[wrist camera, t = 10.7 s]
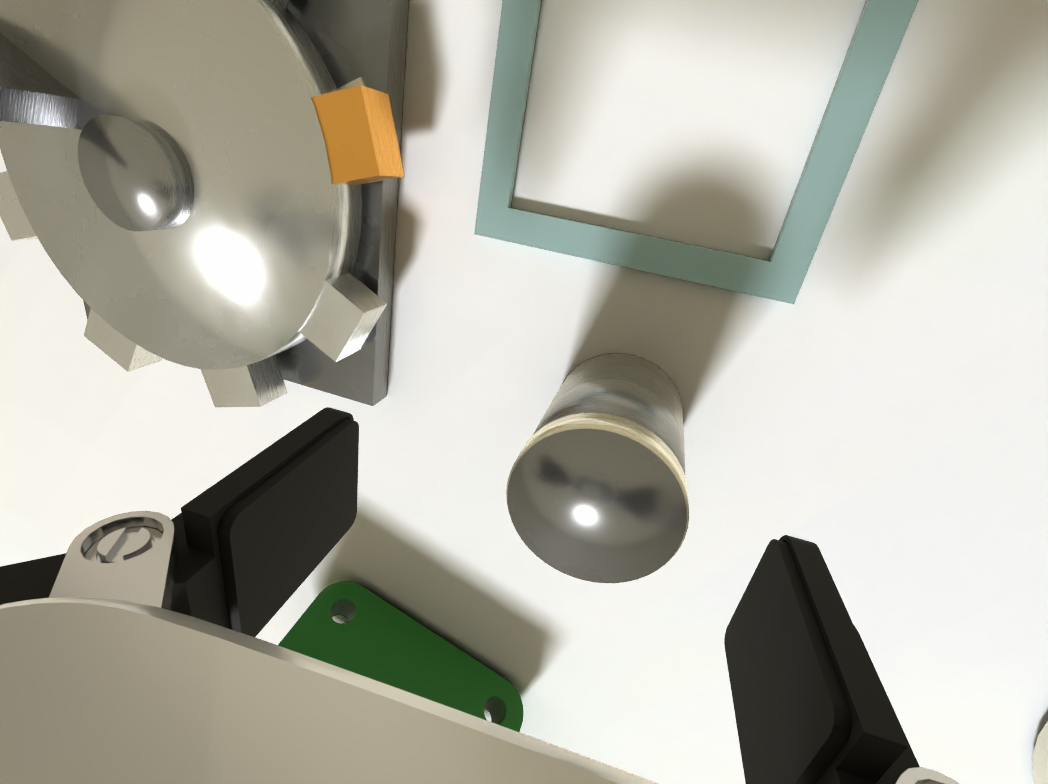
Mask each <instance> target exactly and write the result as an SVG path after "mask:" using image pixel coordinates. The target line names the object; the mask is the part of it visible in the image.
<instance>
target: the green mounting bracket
mask: <svg viewBox="0 0 1048 784" xmlns="http://www.w3.org/2000/svg"><path fill="white" fill-rule="evenodd" d="M335 615H343V616H345V617H346V618H347V619H348V620H349V622H347V623H344V624H339V623H336V622H335V621H334V620H333V619H332V617H333V616H335ZM278 646H281V647H283V648H286V649H289V650H292V651H295V652H297V653H300V654H303V655H306V656H309V657H312V658H314V659H317V660H320V661H323V662H326V663H328V664H331V665H334V666H337V667H340V668H342V669H345V670H348V671H351V672H354V673H356V674H359V675H362V676H365V677H368V678H370V679H373V680H376V681H379V682H382V683H384V684H387V685H390V686H393V687H395V688H398V689H401V690H404V691H407V692H409V693H412V694H415V695H418V696H420V697H423V698H426V699H429V700H431V701H434V702H437V703H440V704H442V705H445V706H448V707H451V708H453V709H456V710H459V711H462V712H465V713H467V714H470V715H473V716H475V717H478V718H481V719H484V720H486V718H485V716H484V708H486V709H487V710H488V711H489V712H490V714H491V718H492V723H495V724H497V725H500V726H503V727H506V728H508V729H511V730H514V731H517V732H519V731H520V728H521V725H522V721H523V705H522V701H521V698H520V695H519V693H518V691H517V690H516V688H515V687H514V686H513V685H512V684H511V683H510V682H509V681H507V680H506V679H504V678H503V677H501V676H500V675H498V674H497V673H495V672H494V671H492V670H490V669H489V668H487V667H486V666H484V665H483V664H481V663H480V662H478V661H477V660H475V659H473V658H472V657H470V656H469V655H467V654H466V653H464V652H463V651H461V650H460V649H458V648H457V647H455V646H453V645H452V644H450V643H449V642H447V641H446V640H444V639H443V638H441V637H440V636H438V635H436V634H435V633H433V632H432V631H430V630H429V629H427V628H426V627H424V626H423V625H421V624H420V623H418V622H416V621H415V620H413V619H412V618H410V617H409V616H407V615H406V614H404V613H403V612H401V611H399V610H398V609H396V608H395V607H393V606H392V605H390V604H389V603H387V602H386V601H384V600H383V599H381V598H379V597H378V596H376V595H375V594H373V593H372V592H370V591H369V590H367V589H366V588H364V587H362V586H361V585H359V584H357V583H354V582H338V583H335V584H332V585H330V586H328V587H327V588H325V589H324V590H323V591H322V592H321V593H320V594H319V595H318V596H317V597H316V599H315V600H314V601H313V602H312V604H311V605H310V606H309V607H308V609H307V610H306V611H305V612H304V614H303V615H302V616H301V617H300V619H299V620H298V621H297V622H296V623H295V625H294V626H293V627H292V628H291V630H290V631H289V632H288V633H287V635H286V636H285V637H284V638H283V640H282V641H281V642H280V643H279V645H278ZM486 721H487V720H486Z"/></svg>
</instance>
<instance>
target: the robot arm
mask: <svg viewBox="0 0 1048 784" xmlns="http://www.w3.org/2000/svg"><path fill="white" fill-rule="evenodd" d="M358 442H359V425H358V423H357V422H356V421H354V420H353V416H352V415H351V414H350V413H347V412H343V411H340V410H336V409H333V408H324V409H323V410H321V411H320V412H318V413H317V414H315V415H314V416H312V417H311V418H310V419H308V420H307V421H305V422H304V423H302V424H301V425H299V426H298V427H297V428H295V429H294V430H292V431H291V432H289V433H288V434H286V435H285V436H284V437H282V438H281V439H279V440H278V441H276V442H275V443H274V444H272V445H271V446H269V447H268V448H266V449H265V450H263V451H262V452H261V453H259V454H258V455H256V456H255V457H253V458H252V459H250V460H249V461H248V462H246V463H245V464H243V465H242V466H240V467H239V468H238V469H236V470H235V471H233V472H232V473H230V474H229V475H227V476H226V477H225V478H223V479H222V480H220V481H219V482H217V483H216V484H214V485H213V486H212V487H210V488H209V489H207V490H206V491H204V492H203V493H202V494H200V495H199V496H197V497H196V498H194V499H193V500H191V501H190V502H189V503H187V504H186V505H184V506H183V507H181V511H182V513H180V514H179V515H178V516H176V517H175V518H173V519H172V520H170V519H169V517H168V516H165V515H163V514H161V513H158V512H150V511H136V512H128V513H123V514H118V515H114V516H112V517H109V518H106V519H104V520H101V521H99V522H97V523H95V524H93V525H92V526H90V527H88V528H86V529H85V530H84V531H83V532H81V533H80V534H79V535H78V536H77V537H75V539H74V540H73V542H72V543H71V545H70V546H69V548H68V551H67V553H66V554H61V555H56V556H51V557H46V558H41V559H36V560H31V561H26V562H21V563H16V564H12V565H7V566H2V567H0V784H658V783H655V782H652V781H650V780H647V779H644V778H642V777H639V776H636V775H633V774H631V773H628V772H625V771H623V770H620V769H617V768H614V767H612V766H609V765H606V764H604V763H601V762H598V761H596V760H593V759H590V758H587V757H585V756H582V755H579V754H577V753H574V752H571V751H568V750H566V749H563V748H560V747H558V746H555V745H552V744H550V743H547V742H544V741H541V740H539V739H536V738H533V737H530V736H528V735H525V734H522V733H519V732H517V731H514V730H511V729H508V728H506V727H503V726H500V725H497V724H495V723H492V722H489V721H486V720H484V719H481V718H478V717H475V716H473V715H470V714H467V713H465V712H462V711H459V710H456V709H453V708H451V707H448V706H445V705H442V704H440V703H437V702H434V701H431V700H429V699H426V698H423V697H420V696H418V695H415V694H412V693H409V692H407V691H404V690H401V689H398V688H395V687H393V686H390V685H387V684H384V683H382V682H379V681H376V680H373V679H370V678H368V677H365V676H362V675H359V674H356V673H354V672H351V671H348V670H345V669H342V668H340V667H337V666H334V665H331V664H328V663H326V662H323V661H320V660H317V659H314V658H312V657H309V656H306V655H303V654H300V653H297V652H295V651H292V650H289V649H286V648H283V647H281V646H278V645H275V644H272V643H269V642H267V641H264V640H261V639H258V638H255V637H256V635H257V634H258V633H259V632H260V631H261V630H262V629H263V627H264V626H265V625H266V624H267V623H268V622H269V621H270V619H271V618H272V617H273V616H274V615H275V614H276V613H277V611H278V610H279V609H280V608H281V607H282V606H283V604H284V603H285V602H286V601H287V600H288V599H289V598H290V596H291V595H292V594H293V593H294V592H295V591H296V590H297V588H298V587H299V586H300V585H301V584H302V583H303V582H304V580H305V579H306V578H307V577H308V576H309V575H310V573H311V572H312V571H313V570H314V569H315V568H316V567H317V565H318V564H319V563H320V562H321V561H322V560H323V559H324V557H325V556H326V555H327V554H328V553H329V552H330V551H331V549H332V548H333V547H334V546H335V545H336V544H337V542H338V541H339V540H340V539H341V538H342V537H343V536H344V534H345V533H346V532H347V531H348V530H349V529H350V527H351V526H352V524H353V523H354V520H355V518H356V514H357V483H358ZM725 651H726V658H727V664H728V671H729V677H730V684H731V690H732V697H733V703H734V710H735V716H736V723H737V729H738V736H739V742H740V749H741V755H742V762H743V768H744V775H745V781H746V784H959V783H958V782H956V781H955V780H953V779H951V778H949V777H947V776H945V775H943V774H941V773H939V772H937V771H934V770H930V769H926V768H922V767H919V765H918V762H917V760H916V758H915V756H914V754H913V751H912V749H911V747H910V745H909V743H908V740H907V738H906V736H905V734H904V732H903V729H902V727H901V725H900V723H899V720H898V718H897V716H896V714H895V712H894V709H893V707H892V705H891V703H890V701H889V698H888V696H887V694H886V692H885V690H884V687H883V685H882V683H881V681H880V679H879V676H878V674H877V672H876V670H875V668H874V665H873V663H872V661H871V659H870V657H869V654H868V652H867V650H866V648H865V646H864V643H863V641H862V639H861V637H860V635H859V633H858V631H857V629H856V628H855V626H854V625H853V623H852V621H851V619H850V616H849V614H848V612H847V610H846V608H845V605H844V603H843V601H842V599H841V596H840V594H839V592H838V590H837V588H836V585H835V583H834V581H833V579H832V576H831V574H830V572H829V570H828V568H827V565H826V563H825V561H824V559H823V556H822V554H821V552H820V550H819V548H818V546H817V545H816V544H815V543H812V542H809V541H805V540H802V539H798V538H795V537H791V536H787V535H785V536H783V537H781V538H780V540H776V539H773V540H771V541H770V543H769V544H768V546H767V548H766V550H765V552H764V554H763V556H762V558H761V560H760V562H759V564H758V566H757V568H756V570H755V572H754V574H753V576H752V578H751V580H750V582H749V584H748V586H747V588H746V590H745V592H744V594H743V596H742V598H741V600H740V602H739V604H738V606H737V608H736V610H735V613H734V615H733V617H732V619H731V621H730V623H729V625H728V627H727V629H726V633H725ZM1032 768H1033V781H1034V784H1048V721H1047V723H1046V724H1045V726H1044V727H1043V729H1042V730H1041V732H1040V733H1039V735H1038V738H1037V742H1036V745H1035V749H1034V752H1033V756H1032Z"/></svg>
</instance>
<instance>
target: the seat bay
mask: <svg viewBox="0 0 1048 784" xmlns="http://www.w3.org/2000/svg"><path fill="white" fill-rule="evenodd" d="M917 2H918V0H867V1H866V3H865V6H864V9H863V11H862V14H861V17H860V19H859V22H858V25H857V28H856V30H855V33H854V36H853V38H852V41H851V44H850V46H849V49H848V52H847V54H846V57H845V60H844V62H843V65H842V68H841V70H840V73H839V76H838V78H837V81H836V84H835V86H834V89H833V92H832V94H831V97H830V100H829V102H828V105H827V108H826V110H825V113H824V116H823V119H822V121H821V124H820V127H819V129H818V132H817V135H816V137H815V140H814V143H813V145H812V148H811V151H810V153H809V156H808V159H807V161H806V164H805V167H804V169H803V172H802V175H801V177H800V180H799V183H798V185H797V188H796V191H795V193H794V196H793V199H792V201H791V204H790V207H789V209H788V212H787V215H786V218H785V220H784V223H783V226H782V228H781V231H780V234H779V236H778V239H777V242H776V244H775V247H774V250H773V252H772V255H771V258H770V260H769V261H767V260H762V259H757V258H753V257H748V256H743V255H738V254H733V253H728V252H723V251H719V250H714V249H709V248H704V247H699V246H694V245H689V244H685V243H680V242H675V241H670V240H665V239H660V238H655V237H650V236H646V235H641V234H636V233H631V232H626V231H621V230H616V229H612V228H607V227H602V226H597V225H592V224H587V223H582V222H578V221H573V220H568V219H563V218H558V217H553V216H548V215H544V214H539V213H534V212H529V211H524V210H519V209H514V208H511V202H512V195H513V188H514V181H515V175H516V168H517V161H518V154H519V148H520V141H521V134H522V127H523V121H524V114H525V107H526V100H527V94H528V87H529V80H530V73H531V67H532V60H533V53H534V46H535V40H536V33H537V26H538V19H539V13H540V6H541V0H503V3H502V11H501V19H500V27H499V36H498V44H497V52H496V60H495V69H494V77H493V85H492V93H491V102H490V110H489V118H488V126H487V134H486V143H485V151H484V159H483V167H482V176H481V184H480V192H479V200H478V208H477V217H476V225H475V233H474V234H476V235H481V236H485V237H490V238H495V239H499V240H504V241H508V242H513V243H517V244H522V245H526V246H531V247H536V248H540V249H545V250H549V251H554V252H558V253H563V254H567V255H572V256H577V257H581V258H586V259H590V260H595V261H599V262H604V263H609V264H613V265H618V266H622V267H627V268H631V269H636V270H640V271H645V272H650V273H654V274H659V275H663V276H668V277H672V278H677V279H681V280H686V281H691V282H695V283H700V284H704V285H709V286H713V287H718V288H723V289H727V290H732V291H736V292H741V293H745V294H750V295H754V296H759V297H764V298H768V299H773V300H777V301H782V302H786V303H791V304H794V303H795V300H796V298H797V295H798V293H799V290H800V288H801V285H802V283H803V281H804V278H805V276H806V273H807V271H808V268H809V266H810V263H811V261H812V259H813V256H814V254H815V251H816V249H817V246H818V244H819V241H820V239H821V237H822V234H823V232H824V229H825V227H826V224H827V222H828V219H829V217H830V215H831V212H832V210H833V207H834V205H835V202H836V200H837V198H838V195H839V193H840V190H841V188H842V185H843V183H844V180H845V178H846V176H847V173H848V171H849V168H850V166H851V163H852V161H853V158H854V156H855V154H856V151H857V149H858V146H859V144H860V141H861V139H862V136H863V134H864V132H865V129H866V127H867V124H868V122H869V119H870V117H871V114H872V112H873V110H874V107H875V105H876V102H877V100H878V97H879V95H880V92H881V90H882V88H883V85H884V83H885V80H886V78H887V75H888V73H889V71H890V68H891V66H892V63H893V61H894V58H895V56H896V53H897V51H898V49H899V46H900V44H901V41H902V39H903V36H904V34H905V31H906V29H907V27H908V24H909V22H910V19H911V17H912V14H913V12H914V9H915V7H916V5H917Z"/></svg>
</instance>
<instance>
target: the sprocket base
mask: <svg viewBox="0 0 1048 784" xmlns="http://www.w3.org/2000/svg"><path fill="white" fill-rule="evenodd" d="M408 5H409V0H289V1H288V3H287V6H286V7H287V9H288V10H289V11H290V12H291V14H292V15H293V16H294V17H295V19H296V20H297V21H298V22H299V23H300V25H301V26H302V27H303V29H304V30H305V32H306V33H307V35H308V37H309V38H310V40H311V41H312V43H313V44H314V46H315V47H316V49H317V50H318V52H319V54H320V55H321V57H322V59H323V61H324V63H325V65H326V67H327V69H328V71H329V73H330V75H331V77H332V79H333V81H334V83H335V85H336V88H337V90H342V89H347V88H351V87H355V86H359V85H362V86H365V87H368V88H371V89H374V90H377V91H380V92H383V93H386V94H388V95H389V100H390V105H391V111H392V116H393V121H394V126H395V131H396V136H397V141H398V146H399V151H400V147H401V129H402V111H403V94H404V76H405V58H406V40H407V23H408ZM398 182H399V178H394V179H388V180H383V181H377V182H371V183H365V184H361V189H362V227H361V237H360V243H359V249H358V255H357V259H356V263H355V266H354V269H353V273H352V275H354V276H355V277H356V278H357V279H358V280H359V281H361V282H362V283H363V284H364V285H365V286H367V287H368V288H369V289H370V290H371V291H373V292H374V293H375V294H376V295H377V296H379V297H380V298H381V299H382V300H383V301H385V302H386V303H387V305H386V307H385V309H384V310H383V312H382V314H381V315H380V317H379V319H378V320H377V322H376V324H375V325H374V327H373V328H372V330H371V332H370V333H369V335H368V337H367V338H366V340H365V342H364V343H363V345H362V347H361V348H360V350H358V351H357V352H355V353H353V354H351V355H349V356H347V357H345V358H343V359H341V360H339V361H337V362H335V361H334V360H332V359H331V358H330V357H329V356H328V355H326V354H325V353H324V352H323V351H322V350H320V349H319V348H318V347H317V346H316V345H314V344H313V343H312V342H311V341H310V340H308V339H306V340H304V341H303V342H301V343H299V344H297V345H295V346H293V347H291V348H290V349H288V350H285V351H283V352H280V353H278V354H275V355H276V358H277V362H278V365H279V368H280V371H281V374H282V377H283V379H284V380H288V381H291V382H294V383H298V384H301V385H304V386H308V387H311V388H314V389H318V390H321V391H324V392H328V393H331V394H334V395H338V396H341V397H344V398H348V399H351V400H354V401H358V402H361V403H364V404H368V405H371V406H374V405H375V404H376V403H378V402H379V401H381V400H382V399H383V398H385V397H386V395H387V377H388V359H389V342H390V324H391V306H392V289H393V271H394V253H395V235H396V218H397V200H398ZM83 301H84V300H83ZM84 305H85V310H86V315H87V319H88V317H89V313H90V309H91V307H90V306H89V305H88V304H87V303H86V302H85V301H84Z"/></svg>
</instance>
